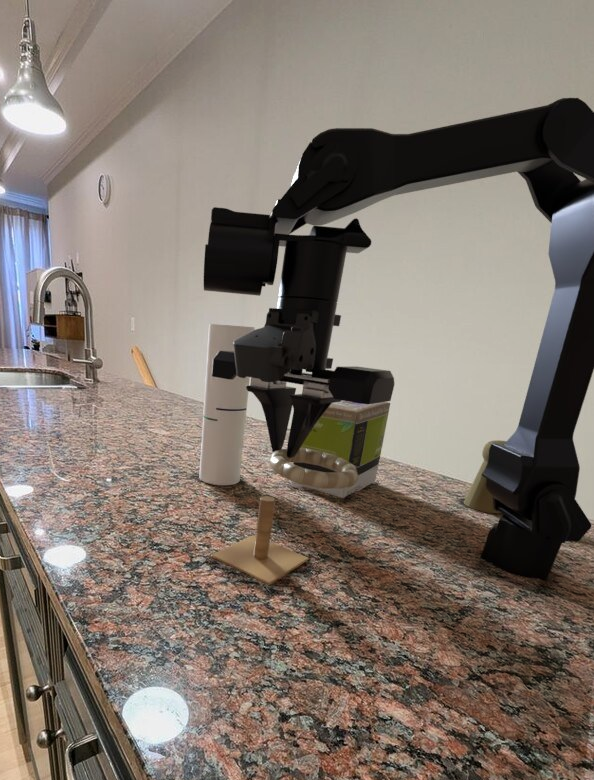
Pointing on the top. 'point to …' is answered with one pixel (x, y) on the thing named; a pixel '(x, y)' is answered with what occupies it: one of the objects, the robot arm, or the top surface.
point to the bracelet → (326, 480)
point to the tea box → (349, 441)
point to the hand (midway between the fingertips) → (283, 455)
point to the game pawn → (481, 486)
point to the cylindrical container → (223, 413)
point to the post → (261, 550)
